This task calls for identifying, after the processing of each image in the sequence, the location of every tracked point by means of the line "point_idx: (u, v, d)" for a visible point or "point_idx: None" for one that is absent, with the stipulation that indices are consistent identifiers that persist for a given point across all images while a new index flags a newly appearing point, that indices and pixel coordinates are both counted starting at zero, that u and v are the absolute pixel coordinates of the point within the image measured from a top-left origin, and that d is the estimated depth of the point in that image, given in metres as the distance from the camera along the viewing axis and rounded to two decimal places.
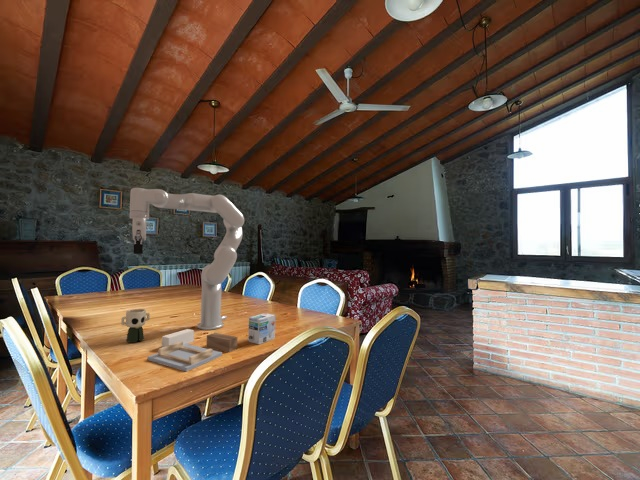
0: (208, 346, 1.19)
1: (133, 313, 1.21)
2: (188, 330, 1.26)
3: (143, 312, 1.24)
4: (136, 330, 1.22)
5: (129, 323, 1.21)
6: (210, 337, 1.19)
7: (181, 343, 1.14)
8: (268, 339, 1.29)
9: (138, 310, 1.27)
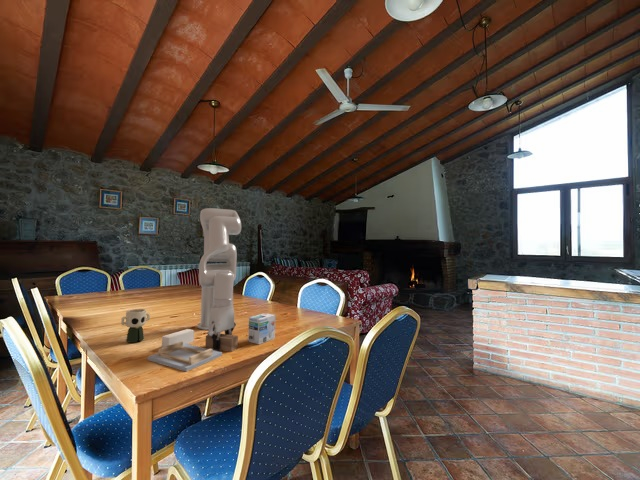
0: (208, 346, 1.18)
1: (133, 313, 1.21)
2: (188, 330, 1.26)
3: (143, 312, 1.24)
4: (136, 330, 1.22)
5: (129, 323, 1.21)
6: (210, 337, 1.18)
7: (181, 343, 1.14)
8: (268, 339, 1.29)
9: (138, 310, 1.27)
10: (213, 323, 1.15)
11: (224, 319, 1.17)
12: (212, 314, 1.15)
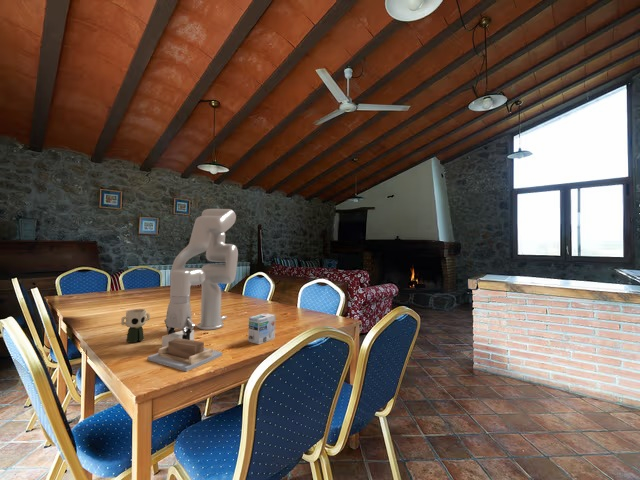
0: (170, 353, 1.06)
1: (133, 313, 1.21)
2: None
3: (143, 312, 1.24)
4: (136, 330, 1.22)
5: (129, 323, 1.21)
6: (172, 343, 1.06)
7: None
8: (268, 339, 1.29)
9: (138, 310, 1.27)
10: (187, 318, 1.19)
11: None
12: (186, 311, 1.19)
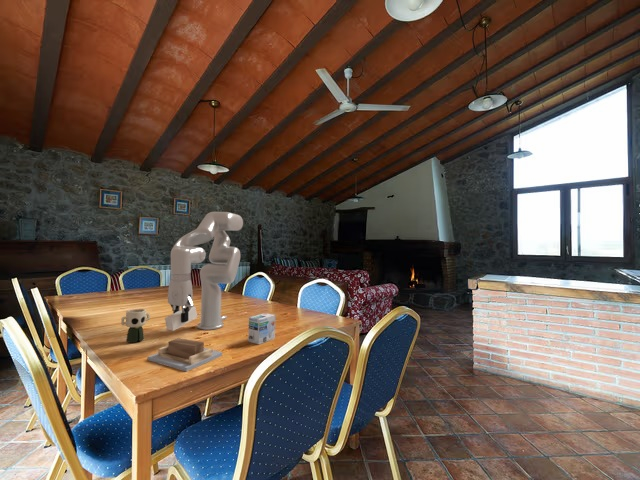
0: (170, 353, 1.06)
1: (133, 313, 1.21)
2: None
3: (143, 312, 1.24)
4: (136, 330, 1.22)
5: (129, 323, 1.21)
6: (172, 343, 1.06)
7: None
8: (268, 339, 1.29)
9: (138, 310, 1.27)
10: (188, 296, 1.20)
11: None
12: (187, 288, 1.20)
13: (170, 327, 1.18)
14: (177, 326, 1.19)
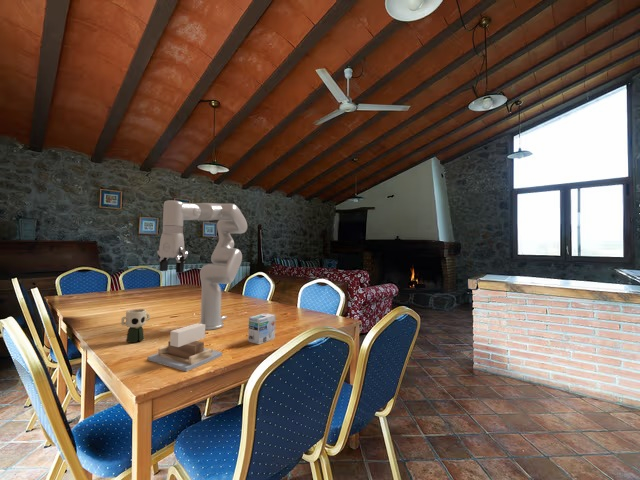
0: (170, 353, 1.06)
1: (133, 313, 1.21)
2: (199, 324, 1.12)
3: (143, 312, 1.24)
4: (136, 330, 1.22)
5: (129, 323, 1.21)
6: None
7: None
8: (268, 339, 1.29)
9: (138, 310, 1.27)
10: (180, 247, 1.19)
11: None
12: (179, 240, 1.19)
13: (175, 343, 1.02)
14: (183, 343, 1.03)
